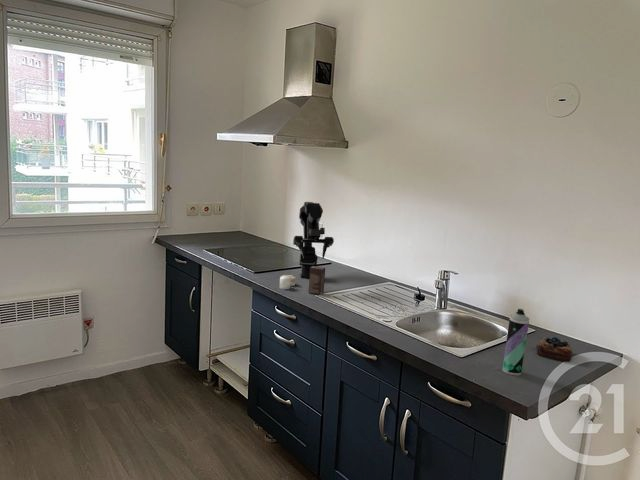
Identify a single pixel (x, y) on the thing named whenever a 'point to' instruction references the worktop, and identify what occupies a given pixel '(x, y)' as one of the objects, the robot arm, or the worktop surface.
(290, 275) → the birch block
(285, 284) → the plastic cylinder
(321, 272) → the box
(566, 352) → the pastry
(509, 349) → the spray can
